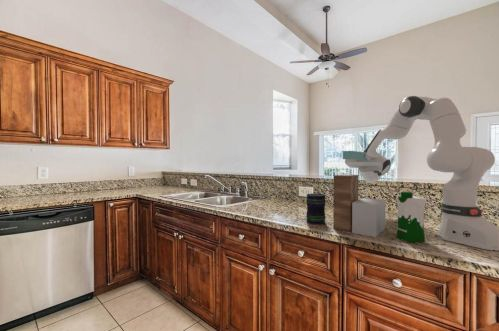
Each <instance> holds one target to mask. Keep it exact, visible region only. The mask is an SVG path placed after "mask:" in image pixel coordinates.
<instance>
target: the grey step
mask: <svg viewBox="0 0 499 331" xmlns="http://www.w3.org/2000/svg"><path fill="white" fill-rule="evenodd" d="M385 229H386V199H379V198H378V199H376V198H369V197H367V198H366V197H363V198H360V199H358V200H357V201H355V202H352V231H351V232H352V234H356V235H361V236H365V237H372V238H377V237H379V235H380V234H381V233H382V232H384V230H385Z"/></svg>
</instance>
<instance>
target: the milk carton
mask: <svg viewBox="0 0 499 331" xmlns="http://www.w3.org/2000/svg"><path fill="white" fill-rule="evenodd" d="M395 199H396V203H397V229H396V230H397V231H396V238H397V239H399V240H401V239H402V240H401V241H404V242H406V241H407V243H409V244H414V243H415V242H418V243H425V242H426V238H425V229H424V228H425V206H426V203H427V199H428V198H425V197H419V196H413V192H412V191H411V192H410V191H401V192H400V195H396V196H395Z"/></svg>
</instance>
